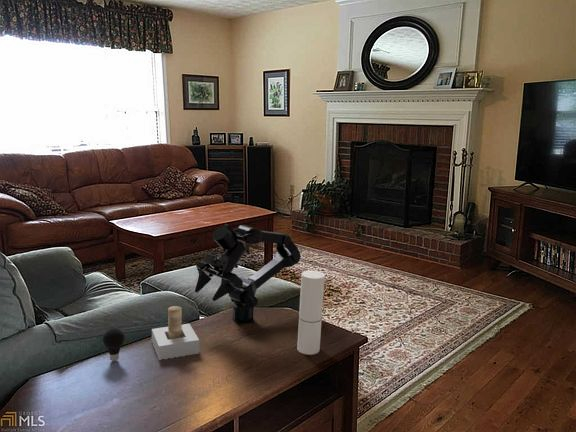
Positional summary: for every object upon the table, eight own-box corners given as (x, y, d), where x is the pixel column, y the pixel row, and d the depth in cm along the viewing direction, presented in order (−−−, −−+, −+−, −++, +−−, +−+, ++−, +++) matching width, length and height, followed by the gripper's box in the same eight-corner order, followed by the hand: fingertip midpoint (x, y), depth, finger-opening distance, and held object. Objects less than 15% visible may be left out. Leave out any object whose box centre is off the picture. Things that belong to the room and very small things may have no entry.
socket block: (189, 336, 156) (189, 323, 155) (199, 353, 145) (199, 339, 144) (151, 342, 151) (151, 329, 150) (159, 360, 140) (158, 346, 139)
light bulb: (99, 362, 137) (97, 330, 135) (115, 354, 142) (114, 323, 140) (113, 368, 135) (112, 335, 133) (129, 359, 140) (128, 328, 138)
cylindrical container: (319, 344, 155) (325, 271, 149) (319, 355, 148) (324, 279, 142) (298, 342, 155) (302, 269, 150) (296, 353, 148) (300, 277, 143)
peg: (183, 345, 150) (183, 306, 147) (178, 351, 146) (178, 312, 143) (171, 344, 150) (171, 305, 147) (166, 350, 146) (166, 310, 143)
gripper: (200, 237, 161) (172, 275, 155) (237, 250, 149) (208, 292, 143) (218, 255, 168) (192, 292, 163) (254, 269, 156) (228, 309, 150)
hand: (204, 296), depth 154 cm, fingers open, 9 cm apart
